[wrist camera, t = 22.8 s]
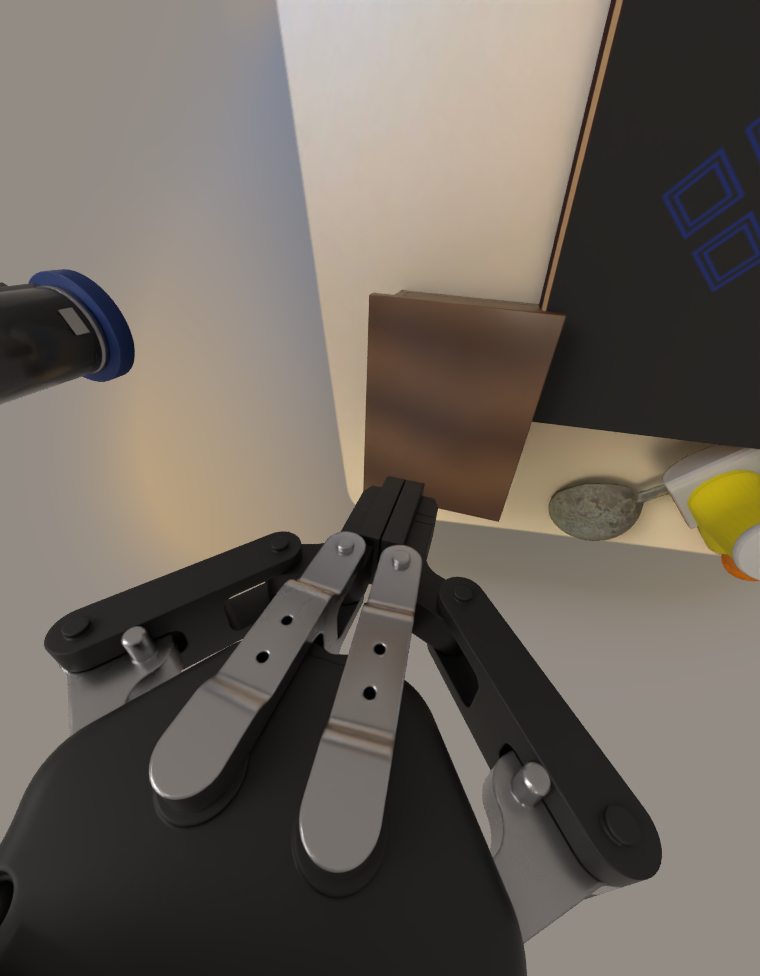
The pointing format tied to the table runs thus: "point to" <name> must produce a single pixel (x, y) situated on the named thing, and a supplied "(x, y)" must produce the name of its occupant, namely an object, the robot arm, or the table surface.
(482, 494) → the lid
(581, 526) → the soupspoon
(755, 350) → the book
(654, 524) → the table surface
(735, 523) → the toy
